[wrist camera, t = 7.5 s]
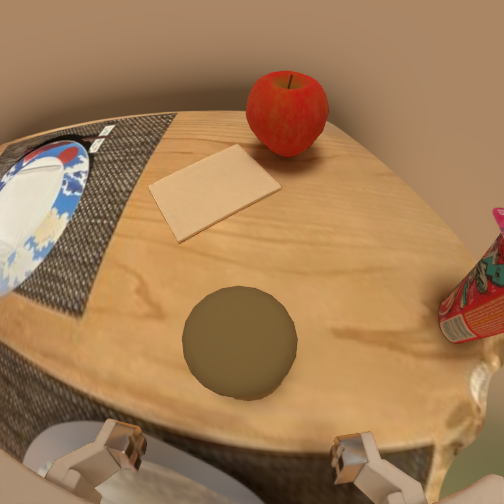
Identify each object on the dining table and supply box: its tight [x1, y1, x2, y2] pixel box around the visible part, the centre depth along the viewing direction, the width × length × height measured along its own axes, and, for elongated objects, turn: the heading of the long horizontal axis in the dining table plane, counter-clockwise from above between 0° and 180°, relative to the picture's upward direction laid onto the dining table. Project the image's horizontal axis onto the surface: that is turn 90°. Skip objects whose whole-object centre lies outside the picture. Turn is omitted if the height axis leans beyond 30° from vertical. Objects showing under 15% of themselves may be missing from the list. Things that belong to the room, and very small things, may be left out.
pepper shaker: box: [182, 286, 298, 401], centre depth 15 cm, size 6×6×11 cm
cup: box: [438, 208, 504, 343], centre depth 15 cm, size 9×8×12 cm
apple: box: [246, 71, 329, 158], centre depth 27 cm, size 9×8×11 cm
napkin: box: [148, 144, 282, 243], centre depth 29 cm, size 12×9×1 cm
